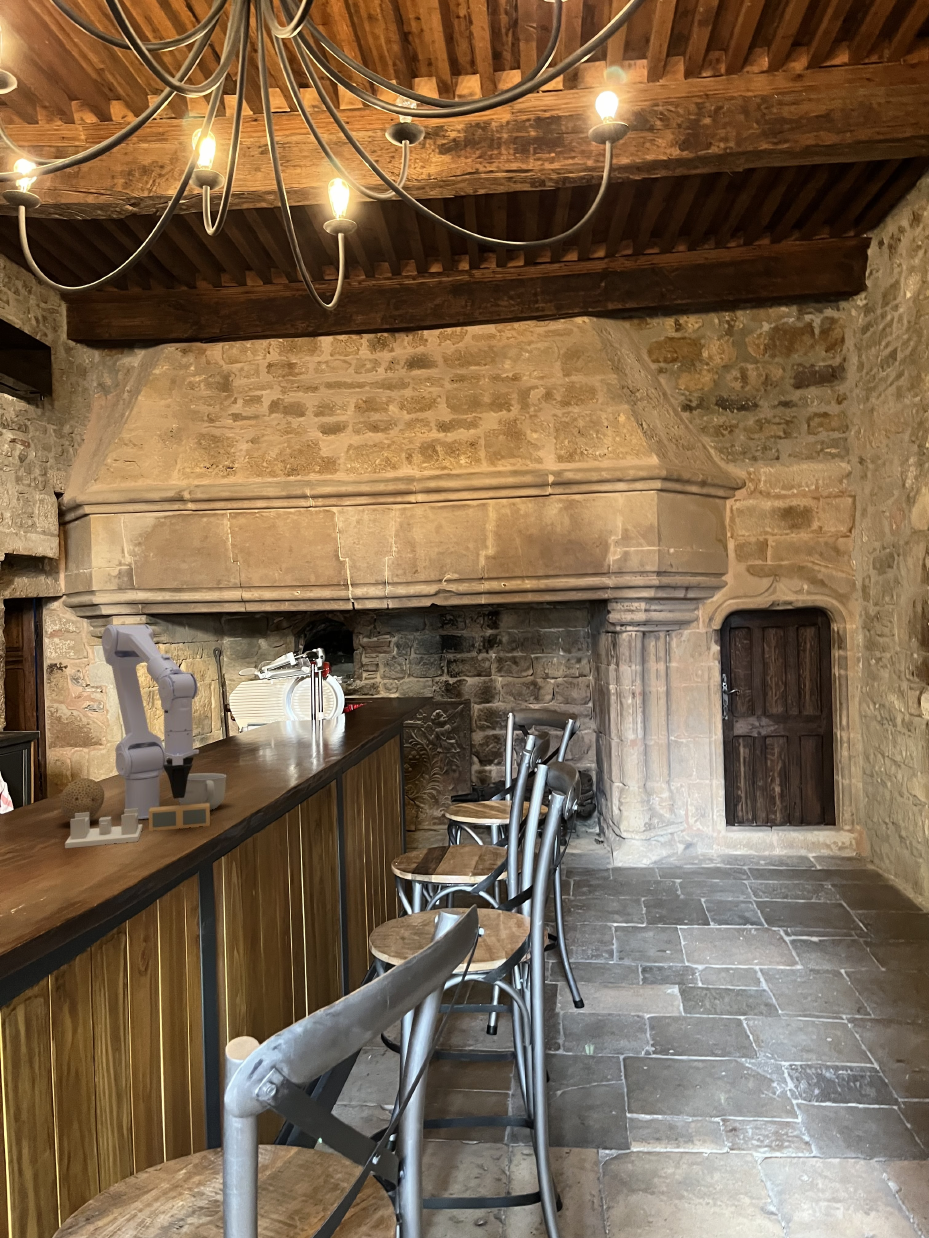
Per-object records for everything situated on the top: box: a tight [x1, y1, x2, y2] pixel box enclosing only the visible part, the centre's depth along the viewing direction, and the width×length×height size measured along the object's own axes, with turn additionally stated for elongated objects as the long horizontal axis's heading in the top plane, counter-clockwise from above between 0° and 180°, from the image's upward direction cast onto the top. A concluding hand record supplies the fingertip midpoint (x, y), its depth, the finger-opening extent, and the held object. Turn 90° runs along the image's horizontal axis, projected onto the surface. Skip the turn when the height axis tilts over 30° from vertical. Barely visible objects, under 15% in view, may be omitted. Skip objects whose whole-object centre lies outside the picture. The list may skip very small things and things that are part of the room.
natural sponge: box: [59, 777, 106, 821], centre depth 174 cm, size 9×9×10 cm
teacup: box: [177, 772, 227, 811], centre depth 186 cm, size 14×11×8 cm
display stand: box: [64, 808, 143, 849], centre depth 161 cm, size 11×13×5 cm
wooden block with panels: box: [148, 803, 211, 832], centre depth 170 cm, size 4×12×4 cm, turn 107°
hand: (179, 794), depth 169 cm, fingers open, 7 cm apart
